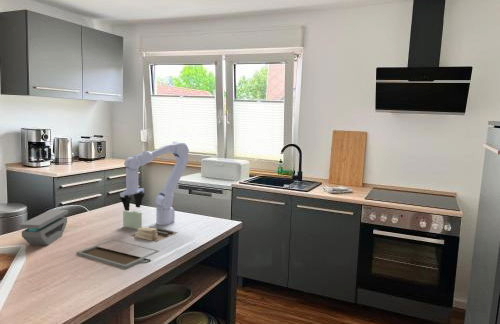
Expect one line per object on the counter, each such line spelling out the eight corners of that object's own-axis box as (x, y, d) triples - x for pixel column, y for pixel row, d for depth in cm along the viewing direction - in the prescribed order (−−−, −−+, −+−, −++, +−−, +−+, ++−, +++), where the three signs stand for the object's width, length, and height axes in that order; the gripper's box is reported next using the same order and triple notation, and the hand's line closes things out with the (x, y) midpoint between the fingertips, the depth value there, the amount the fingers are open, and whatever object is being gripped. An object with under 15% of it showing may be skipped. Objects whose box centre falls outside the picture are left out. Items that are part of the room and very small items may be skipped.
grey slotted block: (52, 231, 182) (51, 209, 180) (68, 232, 182) (68, 209, 180) (20, 250, 157) (19, 224, 156) (39, 250, 157) (38, 225, 156)
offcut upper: (142, 230, 178) (142, 226, 177) (156, 233, 175) (156, 228, 175) (137, 233, 174) (137, 229, 174) (151, 235, 171) (151, 231, 171)
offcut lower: (142, 234, 179) (142, 230, 179) (157, 237, 175) (157, 233, 175) (135, 236, 175) (135, 232, 175) (150, 240, 171) (150, 235, 171)
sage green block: (126, 227, 192) (126, 209, 191) (141, 230, 188) (141, 212, 187) (123, 228, 191) (123, 210, 189) (138, 231, 186) (138, 213, 185)
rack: (151, 229, 190) (151, 224, 190) (178, 234, 183) (178, 230, 183) (128, 238, 176) (128, 233, 176) (156, 244, 169) (156, 239, 169)
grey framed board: (113, 239, 171) (165, 252, 157) (113, 242, 171) (165, 255, 157) (76, 252, 154) (131, 267, 140) (76, 255, 154) (131, 272, 140)
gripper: (127, 184, 178) (128, 213, 180) (148, 180, 191) (148, 206, 193) (116, 183, 181) (116, 211, 183) (137, 179, 194) (138, 205, 196)
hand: (132, 208), depth 188 cm, fingers open, 7 cm apart
